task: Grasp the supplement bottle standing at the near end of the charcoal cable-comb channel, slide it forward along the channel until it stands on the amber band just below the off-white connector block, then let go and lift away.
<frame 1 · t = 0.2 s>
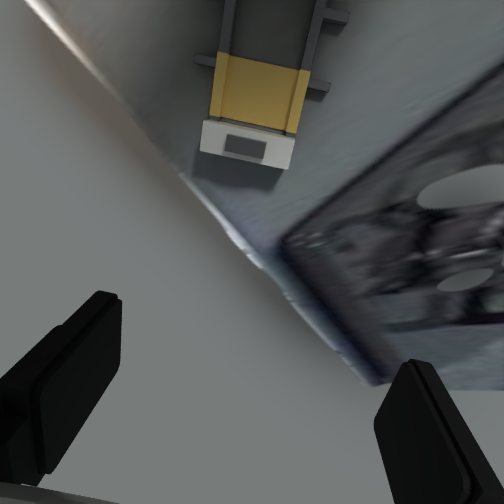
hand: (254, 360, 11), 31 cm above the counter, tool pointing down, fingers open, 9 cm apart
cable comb: (271, 29, 33), on the counter
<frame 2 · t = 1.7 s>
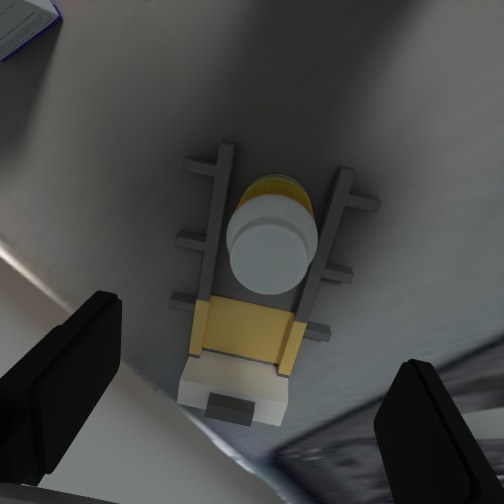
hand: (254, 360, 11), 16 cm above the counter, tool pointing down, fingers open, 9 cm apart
supplement bottle: (275, 206, 25), on the counter
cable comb: (259, 274, 28), on the counter
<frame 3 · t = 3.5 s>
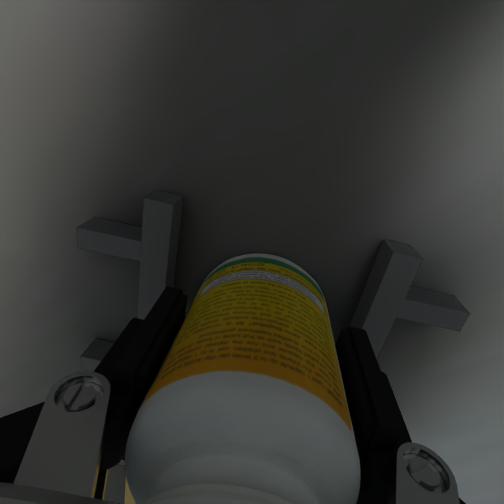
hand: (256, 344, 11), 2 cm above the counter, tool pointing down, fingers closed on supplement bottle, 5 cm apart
supplement bottle: (261, 304, 14), on the counter, touching gripper
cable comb: (236, 407, 16), on the counter
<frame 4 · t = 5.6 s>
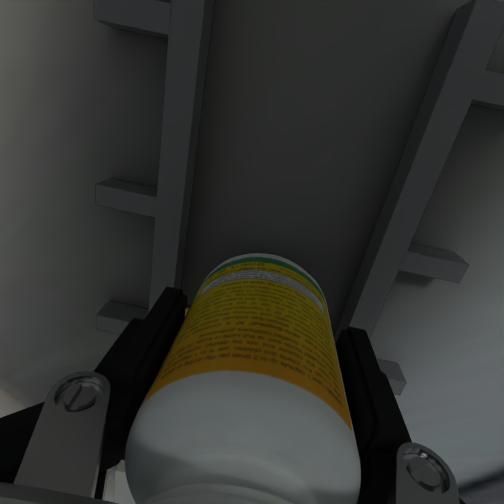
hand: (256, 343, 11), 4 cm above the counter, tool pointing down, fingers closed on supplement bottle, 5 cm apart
supplement bottle: (261, 304, 14), point 1 cm above the counter, touching gripper
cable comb: (269, 266, 14), on the counter
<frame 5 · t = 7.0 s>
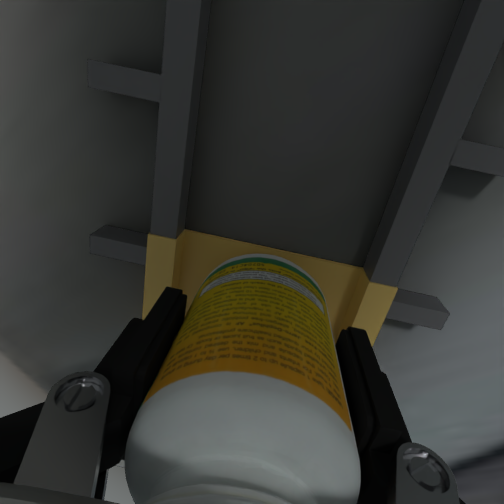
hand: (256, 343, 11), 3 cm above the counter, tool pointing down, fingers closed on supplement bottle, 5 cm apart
supplement bottle: (261, 304, 14), point 1 cm above the counter, touching gripper
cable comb: (291, 176, 12), on the counter
when the fingers open (3 cm above the counter, at t = 7.9 s): supplement bottle stays where it is, resting on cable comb.
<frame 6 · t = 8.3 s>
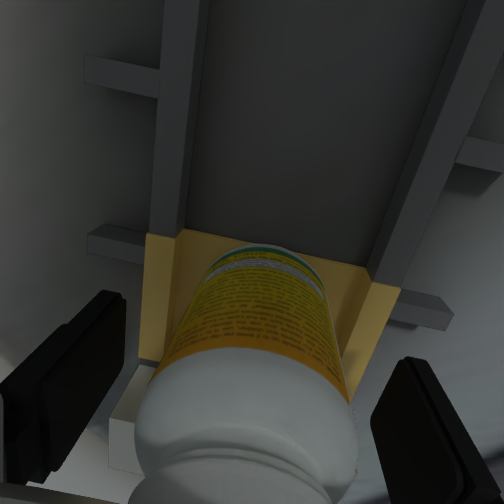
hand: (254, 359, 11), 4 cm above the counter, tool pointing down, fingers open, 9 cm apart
supplement bottle: (262, 294, 14), resting on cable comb
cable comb: (292, 174, 12), on the counter
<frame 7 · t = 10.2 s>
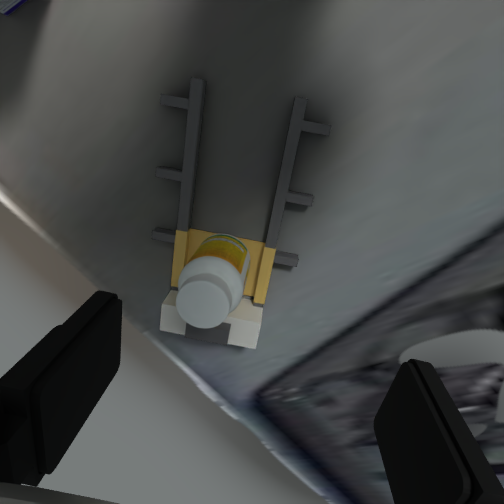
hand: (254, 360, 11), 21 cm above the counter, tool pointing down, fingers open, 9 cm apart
supplement bottle: (224, 256, 33), resting on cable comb
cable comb: (232, 205, 31), on the counter
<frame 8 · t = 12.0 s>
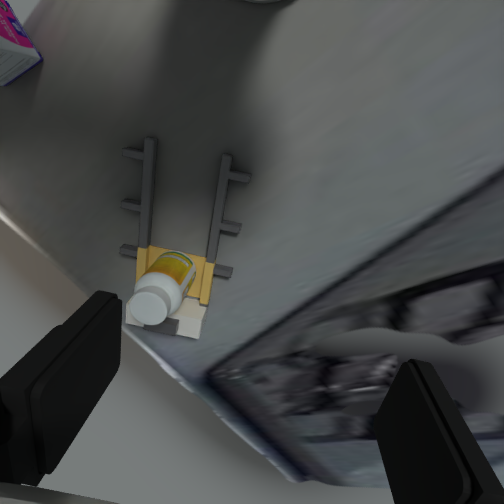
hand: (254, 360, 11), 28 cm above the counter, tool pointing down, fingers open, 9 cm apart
supplement bottle: (177, 267, 42), resting on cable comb
supplement box: (9, 45, 34), on the counter
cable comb: (181, 229, 40), on the counter
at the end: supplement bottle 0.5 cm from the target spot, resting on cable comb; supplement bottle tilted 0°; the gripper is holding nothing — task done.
